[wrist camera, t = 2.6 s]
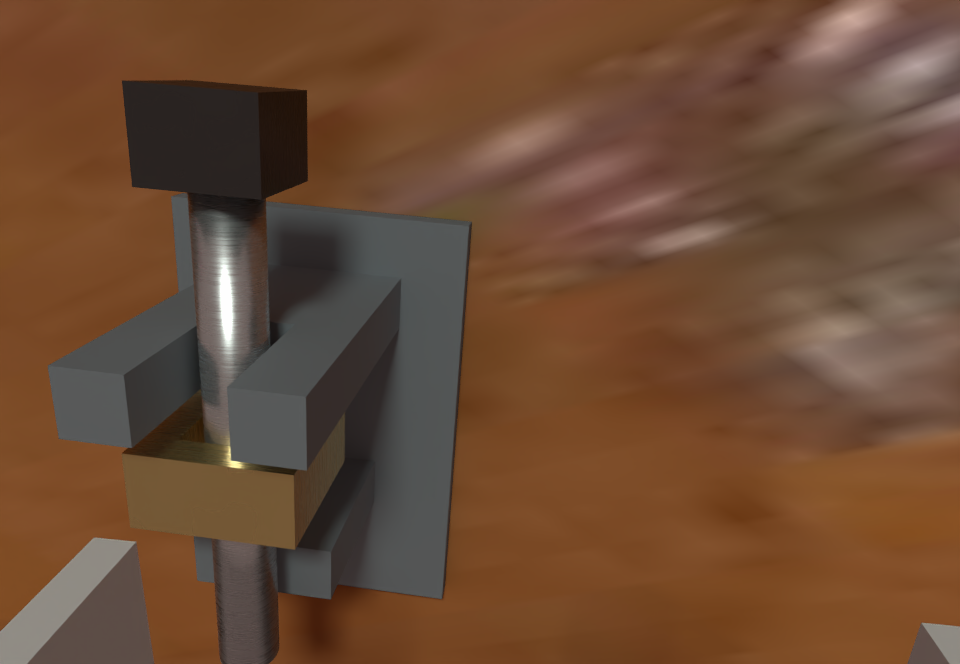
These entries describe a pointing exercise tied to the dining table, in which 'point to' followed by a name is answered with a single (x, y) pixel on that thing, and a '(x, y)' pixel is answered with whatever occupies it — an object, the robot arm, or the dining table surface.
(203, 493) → the spacer
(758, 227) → the dining table surface
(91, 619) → the robot arm
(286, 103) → the shaft
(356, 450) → the shaft stand
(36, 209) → the dining table surface
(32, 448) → the dining table surface
